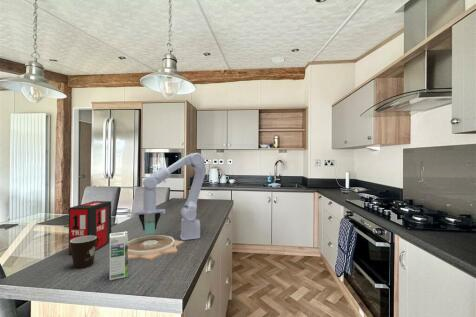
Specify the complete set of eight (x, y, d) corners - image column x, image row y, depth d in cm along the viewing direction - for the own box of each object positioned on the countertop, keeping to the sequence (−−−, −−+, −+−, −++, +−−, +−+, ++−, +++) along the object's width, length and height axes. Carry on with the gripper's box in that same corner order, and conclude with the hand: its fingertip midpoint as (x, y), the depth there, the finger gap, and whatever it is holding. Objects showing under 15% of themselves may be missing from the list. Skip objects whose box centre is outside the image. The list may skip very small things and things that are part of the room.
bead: (154, 230, 119) (154, 220, 119) (154, 233, 114) (154, 222, 114) (144, 231, 117) (144, 221, 117) (144, 234, 113) (144, 223, 113)
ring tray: (179, 234, 129) (179, 229, 130) (189, 254, 101) (189, 249, 101) (116, 241, 118) (116, 236, 118) (108, 267, 90) (108, 260, 90)
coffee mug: (76, 272, 85) (76, 244, 86) (65, 266, 90) (65, 240, 90) (108, 260, 95) (108, 235, 95) (97, 256, 100) (97, 232, 100)
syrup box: (109, 281, 79) (109, 237, 79) (109, 273, 85) (109, 232, 85) (128, 277, 82) (128, 234, 82) (127, 270, 87) (127, 230, 87)
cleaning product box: (89, 255, 101) (89, 207, 101) (68, 254, 101) (68, 207, 102) (111, 241, 118) (111, 201, 118) (93, 241, 118) (93, 201, 118)
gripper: (133, 203, 110) (133, 233, 110) (165, 201, 115) (165, 230, 115) (133, 201, 116) (133, 229, 116) (164, 199, 122) (164, 226, 121)
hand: (149, 229), depth 116 cm, fingers closed on bead, 4 cm apart
